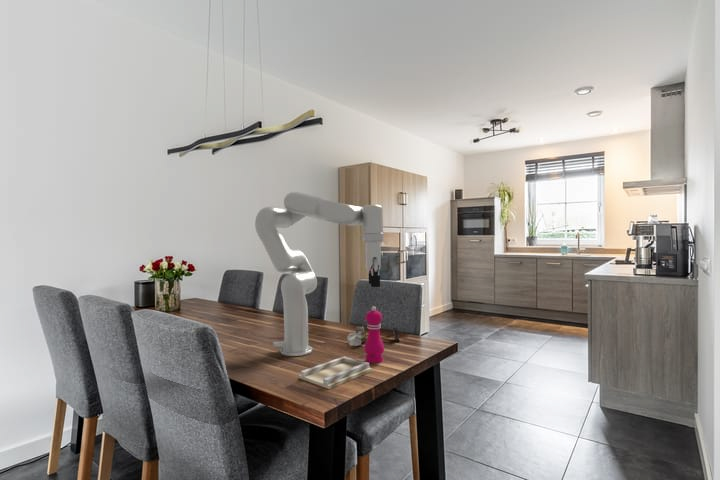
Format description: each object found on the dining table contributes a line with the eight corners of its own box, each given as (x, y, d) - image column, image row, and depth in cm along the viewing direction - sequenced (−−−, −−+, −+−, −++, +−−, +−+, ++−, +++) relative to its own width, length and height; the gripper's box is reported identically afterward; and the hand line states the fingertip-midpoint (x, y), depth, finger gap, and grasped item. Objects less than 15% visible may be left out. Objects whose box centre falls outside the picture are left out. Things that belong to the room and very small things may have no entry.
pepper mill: (378, 365, 136) (377, 308, 136) (360, 361, 140) (360, 307, 139) (387, 359, 142) (387, 305, 142) (370, 356, 146) (370, 304, 146)
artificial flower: (401, 347, 163) (400, 326, 160) (349, 355, 161) (347, 334, 158) (397, 336, 171) (395, 316, 168) (347, 344, 169) (345, 324, 166)
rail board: (329, 389, 115) (328, 380, 115) (299, 378, 124) (299, 370, 124) (371, 371, 130) (371, 363, 130) (342, 362, 139) (342, 355, 139)
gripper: (361, 239, 149) (362, 282, 149) (364, 238, 132) (365, 288, 132) (380, 238, 149) (381, 282, 149) (386, 238, 132) (387, 287, 132)
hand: (374, 285), depth 140 cm, fingers open, 9 cm apart
